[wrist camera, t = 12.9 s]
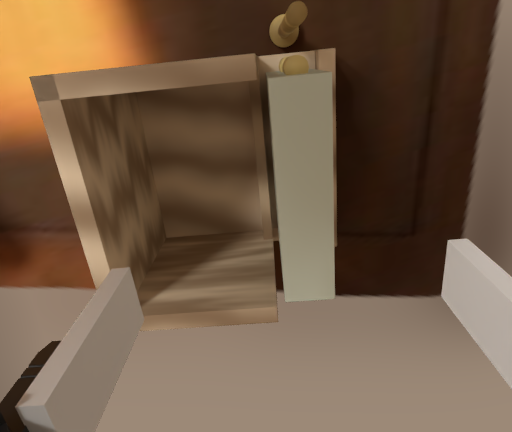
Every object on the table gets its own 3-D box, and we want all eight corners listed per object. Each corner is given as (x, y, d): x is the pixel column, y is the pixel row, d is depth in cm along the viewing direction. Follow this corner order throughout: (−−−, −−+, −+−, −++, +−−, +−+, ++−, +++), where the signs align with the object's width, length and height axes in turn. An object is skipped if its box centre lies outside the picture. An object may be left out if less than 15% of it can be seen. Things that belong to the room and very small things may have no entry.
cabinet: (113, 33, 36) (9, 14, 21) (327, 10, 35) (374, -27, 20) (159, 244, 45) (109, 333, 30) (330, 230, 44) (365, 316, 29)
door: (264, 59, 35) (266, 57, 22) (316, 53, 35) (348, 49, 22) (278, 229, 42) (285, 302, 29) (321, 225, 42) (347, 298, 29)
